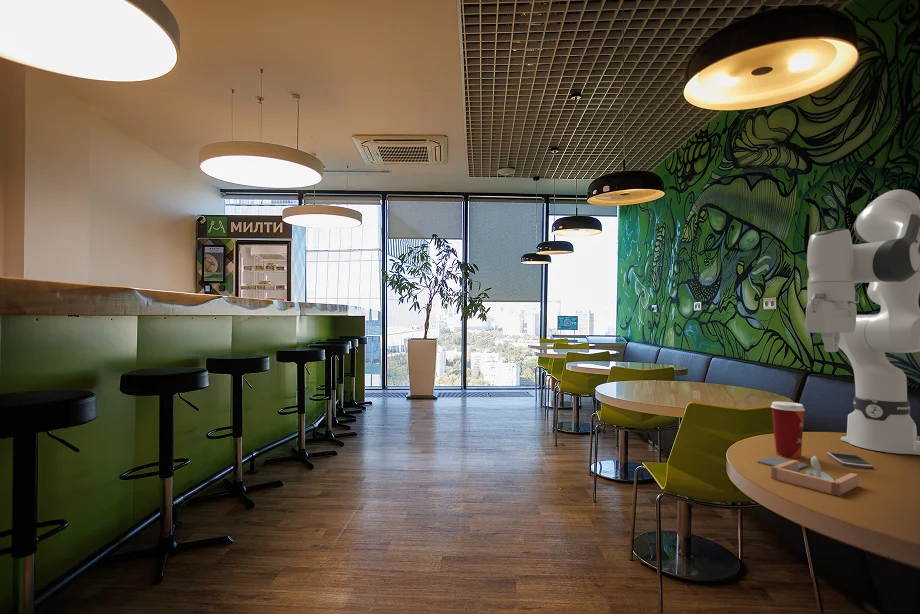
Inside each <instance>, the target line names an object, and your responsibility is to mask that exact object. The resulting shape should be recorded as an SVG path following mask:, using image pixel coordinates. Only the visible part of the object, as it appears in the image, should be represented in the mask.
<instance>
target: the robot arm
mask: <svg viewBox="0 0 920 614" xmlns="http://www.w3.org/2000/svg"><path fill="white" fill-rule="evenodd" d="M853 230H854V234H855V237H856V238H857V239H858V240H859V241H860V242H864V243H858V244H853V239H852V236H851V231H850V229H849V228H843V227H842V228H834V229H828V230H821V231H815V232H814V233H812V234H810V237H809V239H808V245H807V252H806V253H807V254H806V266H807V267H806V268H807V270H808V278H807V283H806V284H807V285H806V287H807V288H806V289H807V304H806V307H805V321H804V322H805V323H804V324H805V326H804V327H805V330H806V332H807V333H815V334H816V333H818V334H819V333H820V334H821V339H822V342H823V346H824V347H823V348H824V352H826V353H834V352H835V353H836V352H838V351H839V350H841V351H843V353H844V354H845V355H846V357H847V358H848V360H849V362H850V364H851V367H852V370H853V374H854V375H853V376H854V386H855V387H854V388H855V389H854V390H855V391H854V392H855V396H853V401H852V402H853V403H852V404H853V408H854V410H853V411H852V412H850V413H849V414H848V415H847V425H846V427H847V428H846V435H844V436H840V440H841V441H842V442H846V443H848V444H850V445H852V446H855V447H858V448H861V449H862V448H863V449H866V450H871V451H878V452H884V453H889V454H899V455H901V454H902V455H918V456H920V436H919V435H918V432H917V425H916V423H915V421H914V420H913V418H912V417H911V415H910V414H911V405H910V401H909V400H908V381H907V375H906V373H905V372H904V371H903V370H902V369H901V368H899V367H897V366H895V365H894V364H892V363H891V362H890V361H889V360H888V357H887V356H886V353H899V354H900V353H901V354H910V353H917V352H920V304H919V297H920V199H919V196H917V194H916V193H914V192H912V191H910V190H908V189H892V190H889V191H887V192H885V193H883V194H881V195H879V196H877V197H876V198H875V199H874V200H872V201H871V202H870V203H868V205H867V206H866V207H865V208H864V209H863V210H862V211H861V212H860V213H859V214H858V215H857V216H856V219H855V221H854V226H853ZM865 242H866V243H865ZM863 283H869V284H868V287H867V291H866V293H867V295H868V298H869V299H870V301H872V302H873V303H875V304H876V305H879V306H880V311H879V312H878V314H857V304H858V303H860V295H859V293H857V291H856V288H855V284H863Z"/></svg>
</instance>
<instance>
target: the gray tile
mask: <svg viewBox="0 0 920 614" xmlns="http://www.w3.org/2000/svg"><path fill="white" fill-rule="evenodd" d="M787 461H790V459H785V458H780V457H777V456H772V455H771V456H769V457H766V458H763V459H760V460H757V463H758V464H762V463H763V464H762V465H765V466H771V467H773V466H776V465H779V464H782V463H784V462H787ZM806 467H809V464H807V463H803V462H799V461H798V471H799V470H802V469H804V468H806Z"/></svg>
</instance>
